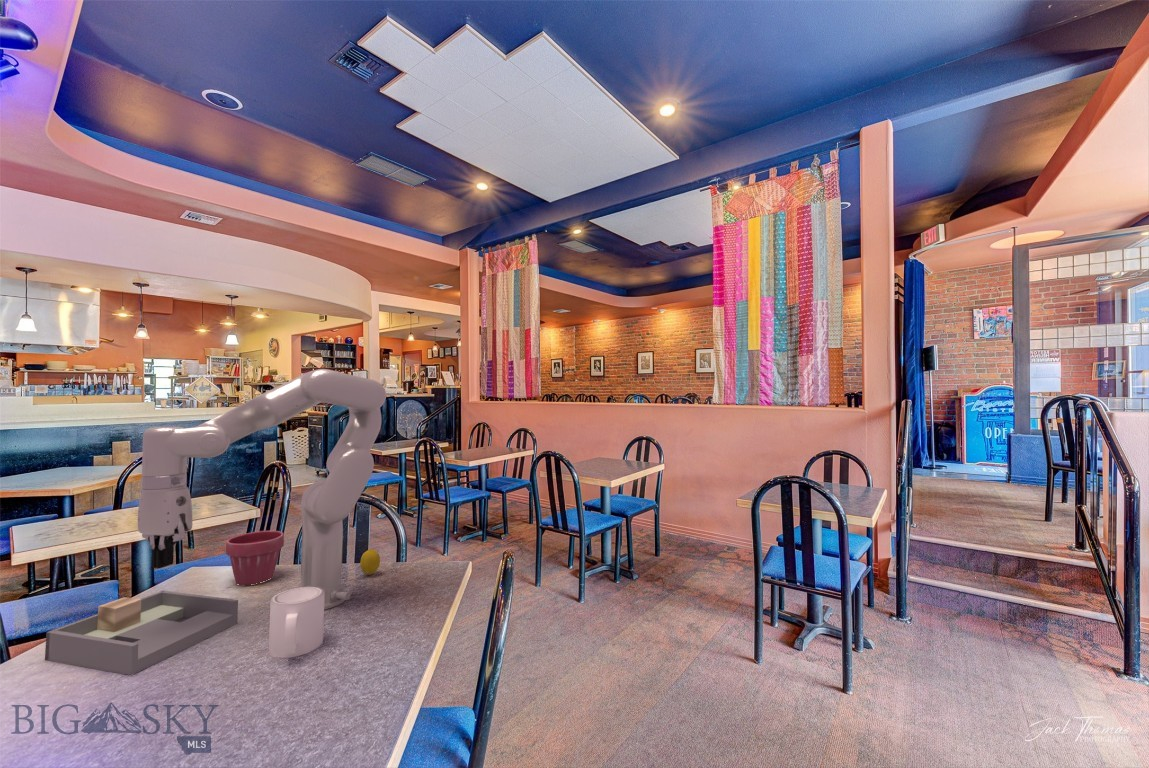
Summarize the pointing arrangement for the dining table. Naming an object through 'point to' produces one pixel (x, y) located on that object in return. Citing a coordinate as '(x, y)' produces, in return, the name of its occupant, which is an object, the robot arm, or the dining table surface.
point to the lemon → (370, 561)
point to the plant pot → (254, 555)
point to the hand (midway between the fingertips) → (162, 565)
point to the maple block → (119, 614)
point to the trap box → (143, 633)
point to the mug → (296, 621)
